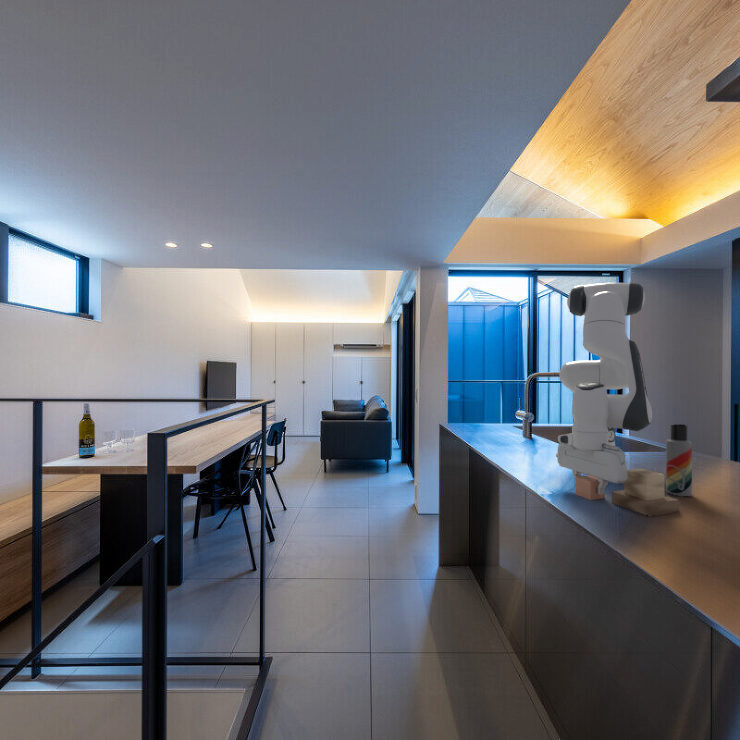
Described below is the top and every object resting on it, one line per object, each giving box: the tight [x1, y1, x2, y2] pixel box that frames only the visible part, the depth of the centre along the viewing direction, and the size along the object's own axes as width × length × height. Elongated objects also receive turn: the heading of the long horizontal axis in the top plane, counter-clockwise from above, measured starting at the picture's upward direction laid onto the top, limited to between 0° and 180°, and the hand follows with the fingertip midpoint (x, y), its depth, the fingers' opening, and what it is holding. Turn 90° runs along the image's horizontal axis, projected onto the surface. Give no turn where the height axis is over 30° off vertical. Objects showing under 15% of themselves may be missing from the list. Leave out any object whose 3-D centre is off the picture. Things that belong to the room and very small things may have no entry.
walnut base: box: [611, 489, 680, 517], centre depth 98 cm, size 10×10×3 cm
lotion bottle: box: [665, 423, 693, 497], centre depth 109 cm, size 6×6×20 cm
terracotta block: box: [575, 474, 606, 501], centre depth 107 cm, size 5×5×5 cm
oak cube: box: [623, 468, 665, 500], centre depth 99 cm, size 6×6×6 cm
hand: (589, 490), depth 107 cm, fingers closed on terracotta block, 5 cm apart
